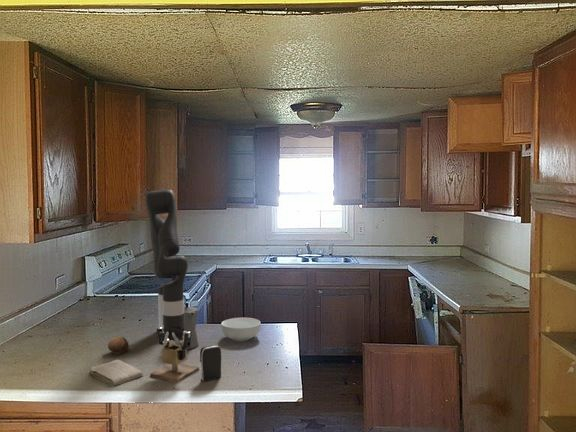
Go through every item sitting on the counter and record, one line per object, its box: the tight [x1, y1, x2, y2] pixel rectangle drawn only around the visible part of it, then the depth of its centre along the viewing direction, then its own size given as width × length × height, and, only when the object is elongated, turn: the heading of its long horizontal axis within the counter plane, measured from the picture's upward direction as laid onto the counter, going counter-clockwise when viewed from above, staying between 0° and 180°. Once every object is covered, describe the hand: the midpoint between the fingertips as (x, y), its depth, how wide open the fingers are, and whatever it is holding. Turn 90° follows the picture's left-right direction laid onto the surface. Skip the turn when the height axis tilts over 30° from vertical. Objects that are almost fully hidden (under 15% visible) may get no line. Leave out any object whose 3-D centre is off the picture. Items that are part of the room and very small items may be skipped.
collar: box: [161, 343, 188, 365], centre depth 180 cm, size 6×6×5 cm
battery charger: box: [199, 344, 222, 382], centre depth 176 cm, size 7×4×11 cm, turn 121°
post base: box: [150, 363, 200, 383], centre depth 180 cm, size 12×12×7 cm
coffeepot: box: [179, 302, 199, 350], centre depth 210 cm, size 15×9×18 cm, turn 33°
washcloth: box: [88, 359, 144, 386], centre depth 179 cm, size 12×18×3 cm, turn 49°
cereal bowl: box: [220, 317, 261, 342], centre depth 218 cm, size 17×17×7 cm
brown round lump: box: [107, 336, 129, 355], centre depth 202 cm, size 8×8×6 cm
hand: (174, 358), depth 180 cm, fingers closed on collar, 6 cm apart
